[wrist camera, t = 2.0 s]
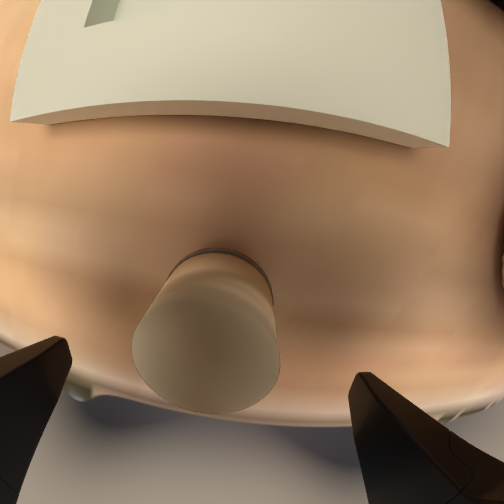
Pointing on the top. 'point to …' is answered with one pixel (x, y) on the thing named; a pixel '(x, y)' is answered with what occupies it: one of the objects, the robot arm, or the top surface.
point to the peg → (210, 334)
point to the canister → (503, 269)
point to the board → (243, 64)
